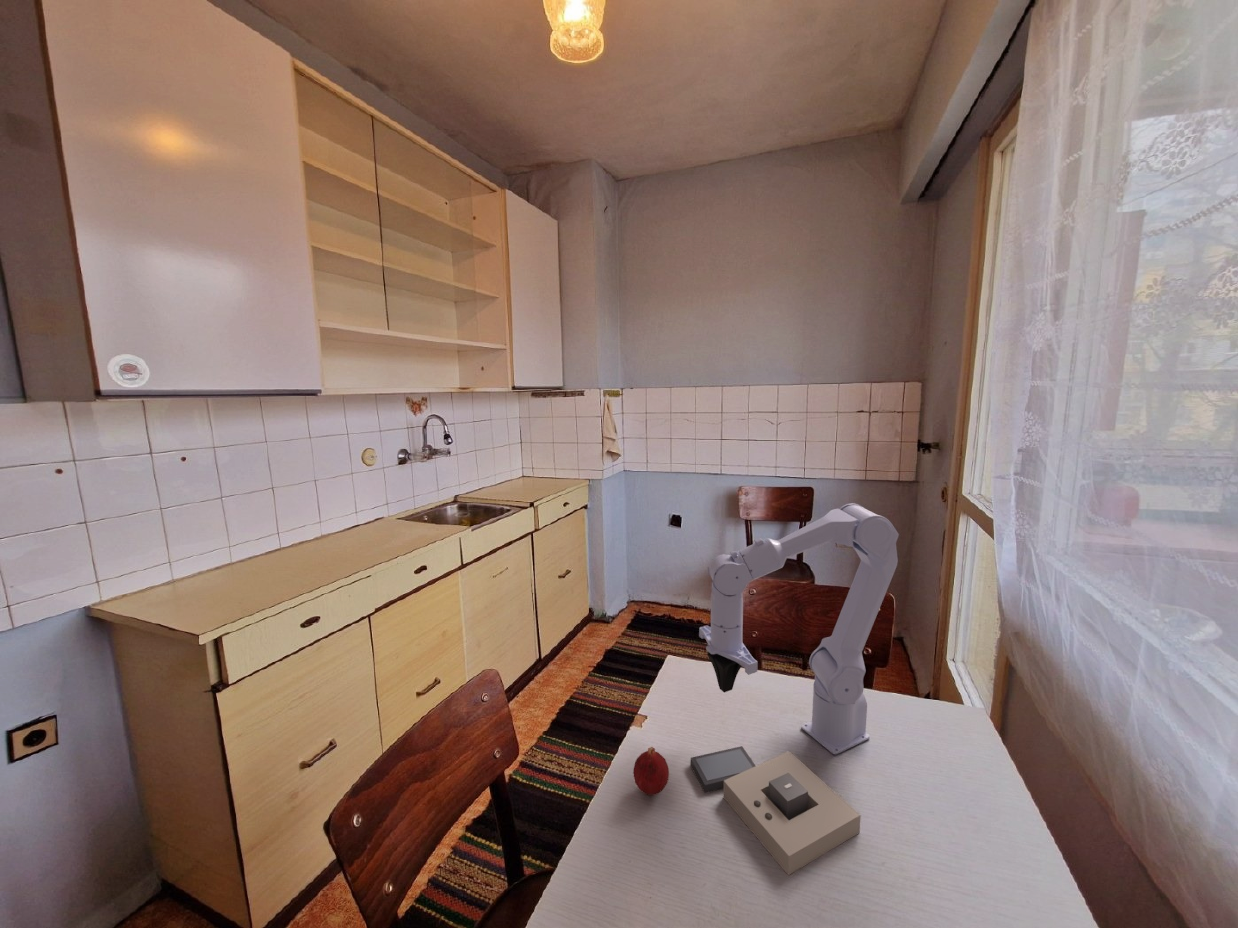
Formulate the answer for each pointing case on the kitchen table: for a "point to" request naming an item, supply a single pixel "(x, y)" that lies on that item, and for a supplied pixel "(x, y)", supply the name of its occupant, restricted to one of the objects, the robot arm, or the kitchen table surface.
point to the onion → (651, 772)
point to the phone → (720, 767)
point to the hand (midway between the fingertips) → (726, 688)
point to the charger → (788, 796)
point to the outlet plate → (804, 833)
